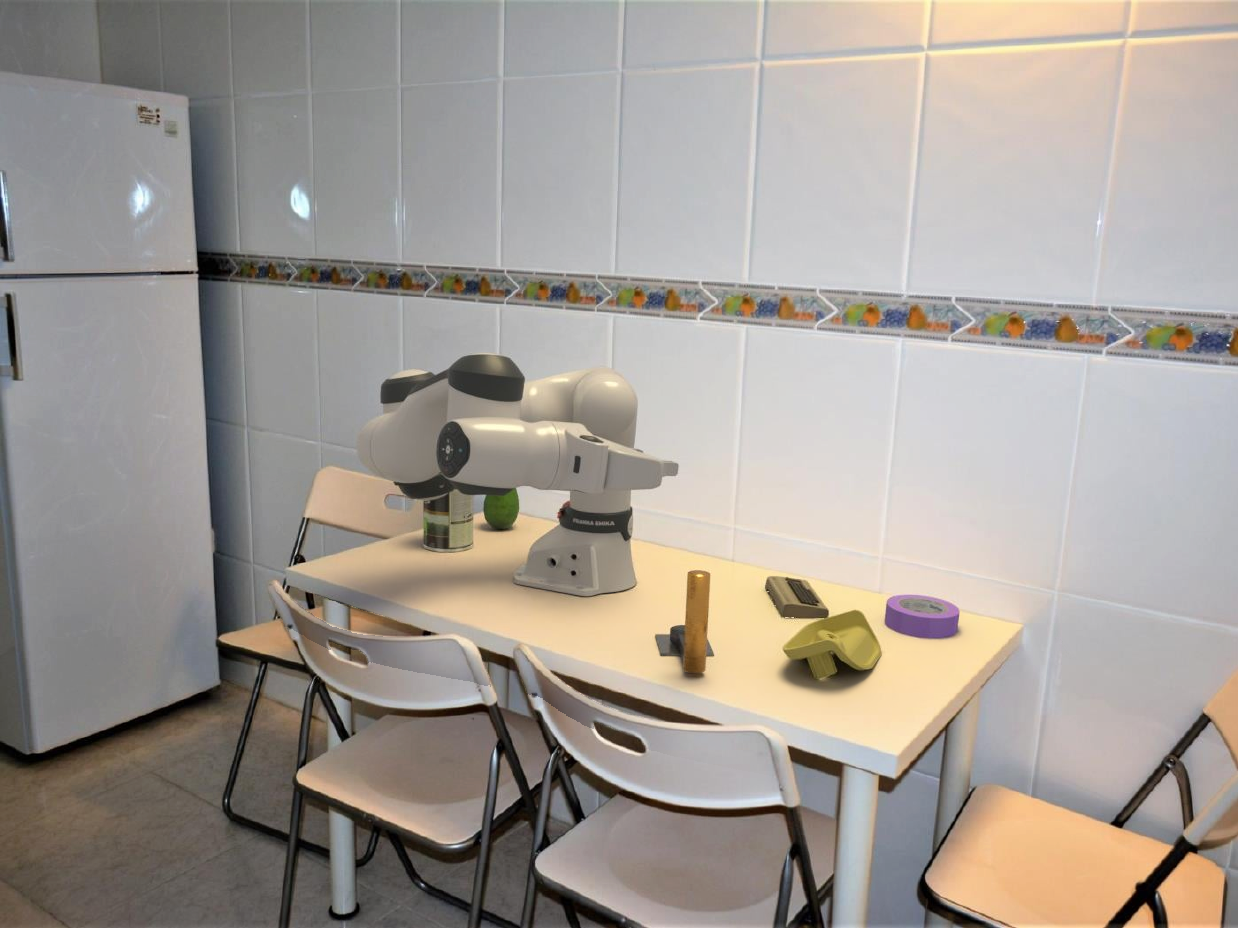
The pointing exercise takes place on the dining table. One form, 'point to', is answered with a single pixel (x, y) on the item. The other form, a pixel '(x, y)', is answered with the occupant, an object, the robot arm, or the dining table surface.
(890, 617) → the masking tape
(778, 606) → the computer
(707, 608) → the crank handle
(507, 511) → the avocado
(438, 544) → the coffee can
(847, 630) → the plastic component
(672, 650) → the pivot plate
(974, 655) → the dining table surface
